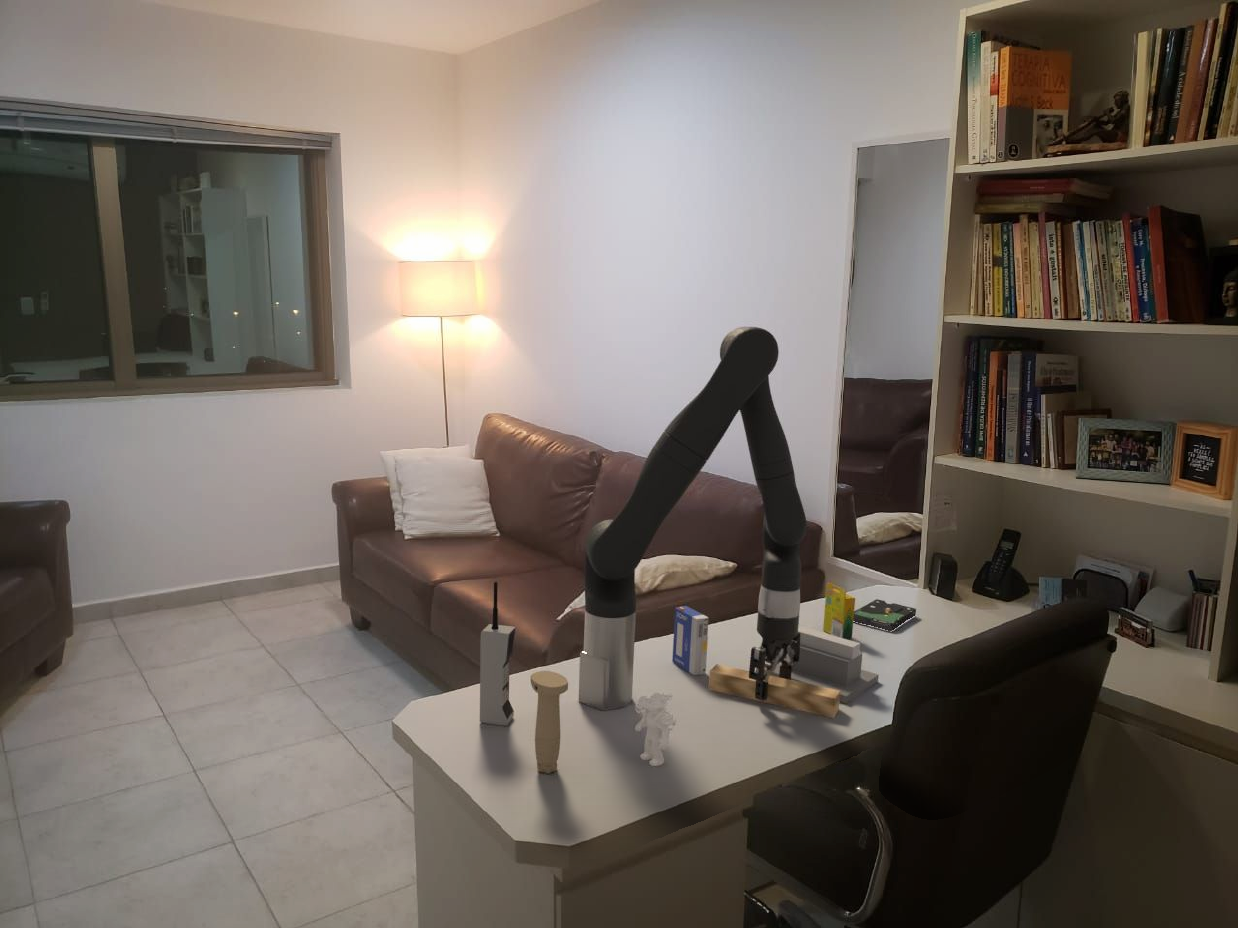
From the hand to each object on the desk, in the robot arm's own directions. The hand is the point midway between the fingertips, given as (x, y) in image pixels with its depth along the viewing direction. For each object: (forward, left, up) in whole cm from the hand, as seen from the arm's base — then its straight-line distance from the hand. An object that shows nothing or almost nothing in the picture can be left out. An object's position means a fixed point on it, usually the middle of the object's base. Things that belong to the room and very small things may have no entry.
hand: (772, 692), depth 173 cm
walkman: (+1, +20, -2) cm, 20 cm away
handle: (-48, +12, -2) cm, 50 cm away
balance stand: (+15, -2, -1) cm, 15 cm away
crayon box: (+40, +7, -2) cm, 41 cm away
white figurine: (-34, +2, -2) cm, 34 cm away
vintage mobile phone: (-42, +30, -2) cm, 52 cm away
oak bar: (0, 0, -2) cm, 2 cm away
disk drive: (+58, +4, -2) cm, 58 cm away
